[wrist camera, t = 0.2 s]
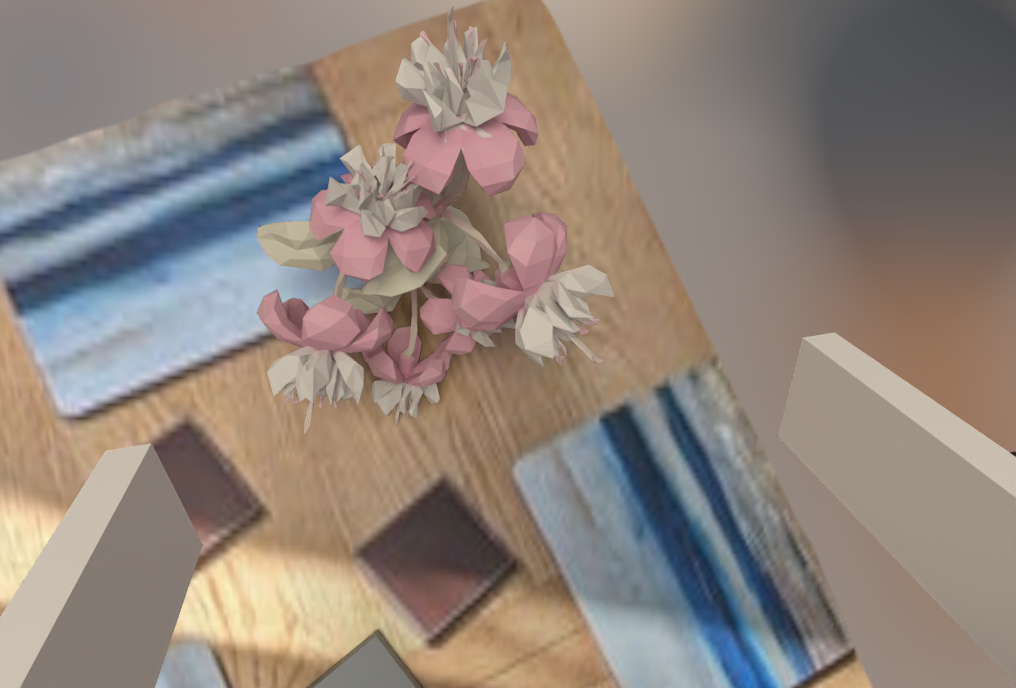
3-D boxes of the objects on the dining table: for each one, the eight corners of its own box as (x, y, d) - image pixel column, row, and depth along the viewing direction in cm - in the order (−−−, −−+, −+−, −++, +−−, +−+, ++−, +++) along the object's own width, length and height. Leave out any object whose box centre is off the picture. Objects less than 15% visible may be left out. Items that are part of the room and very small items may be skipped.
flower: (186, 258, 44) (84, 356, 22) (389, 63, 45) (490, -35, 23) (371, 408, 53) (433, 584, 31) (536, 242, 54) (710, 298, 32)
